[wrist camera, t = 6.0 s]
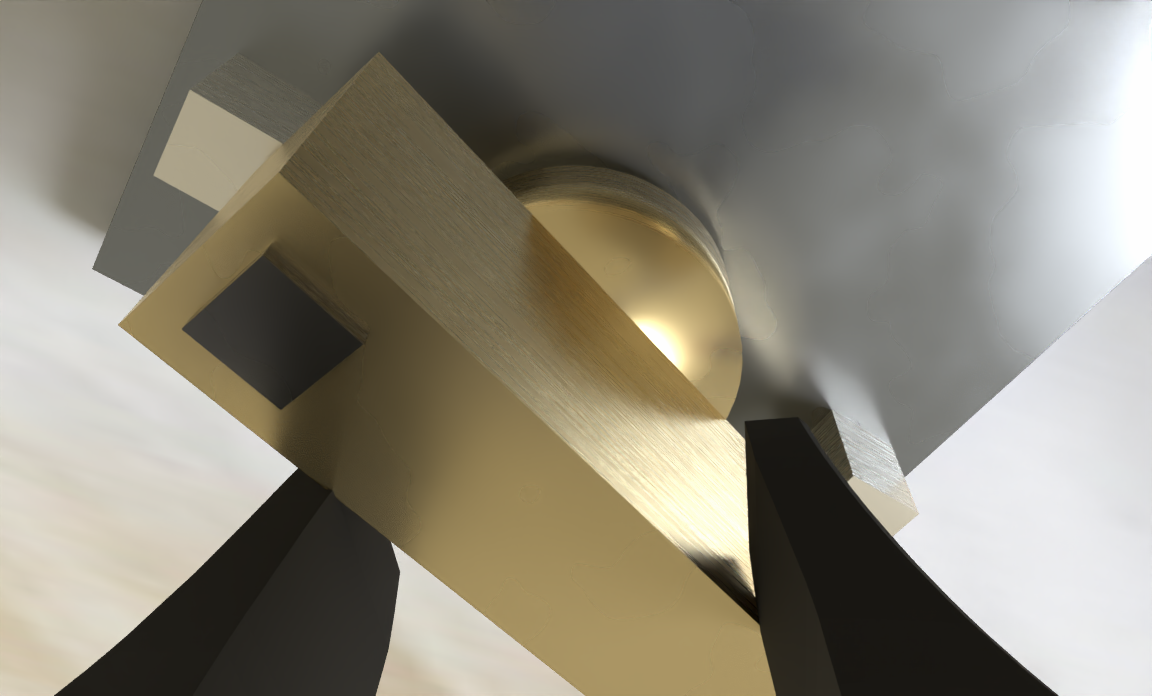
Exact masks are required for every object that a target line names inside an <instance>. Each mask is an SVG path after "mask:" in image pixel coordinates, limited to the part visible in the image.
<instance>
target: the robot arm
mask: <svg viewBox="0 0 1152 696" xmlns="http://www.w3.org/2000/svg"><path fill="white" fill-rule="evenodd" d="M744 423H745V451H746V479H747V508H748V536H749V554H750V562H751V569H752V577H753V584H754V592H755V599H756V605H757V611H758V617H759V623H760V632H761V636H762V641H763V645H764V649H765V653H766V657H767V661H768V665H769V669H770V673H771V677H772V681H773V685H774V689H775V693H776V696H1058V695H1057V694H1056V693H1055V692H1054V691H1052V690H1051V689H1050V688H1049V687H1048V686H1046V685H1045V684H1044V683H1043V682H1042V681H1040V680H1039V679H1038V678H1037V677H1036V676H1034V675H1033V674H1032V673H1031V672H1030V671H1028V670H1027V669H1026V668H1025V667H1024V666H1022V665H1021V664H1020V663H1019V662H1018V661H1017V660H1016V659H1015V658H1013V657H1012V656H1011V655H1010V654H1009V653H1008V652H1007V651H1006V650H1004V649H1003V648H1002V647H1001V646H1000V645H999V644H998V643H997V642H995V641H994V640H993V639H992V638H991V637H990V636H989V635H988V634H986V633H985V632H984V631H983V630H982V629H981V628H980V627H979V626H978V625H977V624H976V623H975V622H974V621H973V620H972V619H971V618H969V617H968V616H967V615H966V614H965V613H964V612H963V611H962V610H961V609H960V608H959V607H958V606H957V605H956V604H955V603H954V602H953V601H952V600H951V599H950V598H949V597H948V596H947V595H946V594H945V593H944V592H943V591H942V590H941V589H940V588H939V587H938V586H937V585H936V583H935V582H934V581H933V580H932V579H931V578H930V577H929V576H928V575H927V574H926V573H925V572H924V571H923V570H922V569H921V568H920V567H919V566H918V565H917V564H916V563H915V561H914V560H913V559H912V558H911V557H910V556H909V555H908V554H907V553H906V552H905V551H904V549H903V548H902V547H901V546H900V545H899V544H898V543H897V541H896V540H895V539H894V538H893V537H892V536H891V534H890V533H889V532H888V531H887V530H886V529H885V527H884V526H883V525H882V524H881V523H880V522H879V520H878V519H877V518H876V517H875V516H874V515H873V513H872V512H871V511H870V510H869V509H868V508H867V506H866V505H865V504H864V503H863V501H862V500H861V499H860V498H859V496H858V495H857V494H856V493H855V491H854V490H853V489H852V488H851V486H850V485H849V484H848V482H847V481H846V480H845V478H844V477H843V476H842V474H841V473H840V472H839V470H838V469H837V468H836V466H835V465H834V464H833V462H832V461H831V459H830V458H829V457H828V455H827V454H826V452H825V451H824V450H823V448H822V447H821V445H820V444H819V442H818V441H817V439H816V438H815V436H814V435H813V433H812V431H811V430H810V428H809V426H808V425H807V424H806V423H805V422H804V421H802V420H801V419H800V418H799V417H791V418H777V419H764V420H751V421H744ZM399 576H400V570H399V567H398V564H397V561H396V557H395V554H394V551H393V548H392V544H391V541H390V540H388V539H387V538H386V537H385V536H383V535H382V534H381V533H380V532H378V531H377V530H376V529H375V528H373V527H372V526H371V525H370V524H368V523H367V522H366V521H365V520H363V519H362V518H361V517H359V516H358V515H357V514H356V513H354V512H353V511H352V510H351V509H349V508H348V507H347V506H346V505H344V504H343V503H342V502H341V501H339V500H338V499H337V498H336V497H335V494H334V491H333V490H325V489H324V488H323V487H322V486H320V485H319V484H318V483H317V482H315V481H314V480H313V479H312V478H310V477H309V476H308V475H307V474H305V473H304V472H303V471H302V470H300V469H299V468H298V469H297V470H296V471H295V472H294V473H293V474H292V475H291V476H290V477H289V478H288V479H287V480H286V481H285V482H284V483H283V484H282V485H281V486H280V487H279V488H278V489H277V490H276V491H275V492H274V493H273V494H272V495H271V496H270V497H269V498H268V500H267V501H266V502H265V503H264V504H263V505H262V506H261V507H260V508H259V509H258V510H257V511H256V512H255V513H254V514H253V515H252V516H251V517H250V518H249V519H248V520H247V521H246V522H245V523H244V524H243V525H242V526H241V527H240V528H239V529H238V530H237V531H236V532H235V533H234V534H233V535H232V536H231V537H230V538H229V539H228V540H227V541H226V542H225V543H224V544H223V545H222V546H221V547H220V548H219V549H218V550H217V551H216V552H215V553H214V554H213V555H212V556H211V557H210V558H209V559H208V560H207V561H206V562H205V563H204V564H203V565H202V566H201V567H200V568H199V569H198V570H197V571H196V572H195V573H194V574H193V575H192V576H191V577H190V578H189V579H188V580H187V581H186V582H185V583H183V584H182V585H181V586H180V587H179V588H178V589H177V590H176V591H175V592H174V593H173V594H172V595H170V596H169V597H168V598H167V599H166V600H165V601H164V602H163V603H162V604H161V605H160V606H159V607H157V608H156V609H155V610H154V611H153V612H152V613H151V614H150V615H149V616H148V617H147V618H146V619H144V620H143V621H142V622H141V623H140V624H139V625H138V626H137V627H136V628H135V629H134V630H133V631H131V632H130V633H129V634H128V635H127V636H126V637H125V638H124V639H122V640H121V641H120V642H119V643H118V644H117V645H116V646H114V647H113V648H112V649H111V650H110V651H109V652H107V653H106V654H105V655H104V656H103V657H101V658H100V659H99V660H98V661H97V662H95V663H94V664H93V665H92V666H91V667H89V668H88V669H87V670H86V671H85V672H83V673H82V674H81V675H79V676H78V677H77V678H76V679H74V680H73V681H72V682H71V683H69V684H68V685H67V686H66V687H64V688H63V689H62V690H60V691H59V692H58V693H57V694H55V695H54V696H376V692H377V689H378V685H379V682H380V678H381V674H382V671H383V667H384V664H385V660H386V656H387V653H388V649H389V643H390V637H391V631H392V625H393V618H394V612H395V605H396V598H397V590H398V583H399Z"/></svg>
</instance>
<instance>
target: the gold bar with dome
mask: <svg viewBox="0 0 1152 696" xmlns="http://www.w3.org/2000/svg"><path fill="white" fill-rule="evenodd" d="M118 325H119V326H120V327H121V328H123V329H124V330H125V331H126V332H128V333H129V334H130V335H131V336H133V337H134V338H135V339H136V340H138V341H139V342H140V343H141V344H143V345H144V346H145V347H146V348H148V349H149V350H150V351H152V352H153V353H154V354H155V355H157V356H158V357H159V358H160V359H162V360H163V361H164V362H165V363H167V364H168V365H169V366H170V367H172V368H173V369H174V370H175V371H177V372H178V373H179V374H181V375H182V376H183V377H184V378H186V379H187V380H188V381H189V382H191V383H192V384H193V385H194V386H196V387H197V388H198V389H199V390H201V391H202V392H203V393H204V394H206V395H207V396H208V397H209V398H211V399H212V400H213V401H215V402H216V403H217V404H218V405H220V406H221V407H222V408H223V409H225V410H226V411H227V412H228V413H230V414H231V415H232V416H233V417H235V418H236V419H237V420H238V421H240V422H241V423H242V424H244V425H245V426H246V427H247V428H249V429H250V430H251V431H252V432H254V433H255V434H256V435H257V436H259V437H260V438H261V439H262V440H264V441H265V442H266V443H267V444H269V445H270V446H271V447H273V448H274V449H275V450H276V451H278V452H279V453H280V454H281V455H283V456H284V457H285V458H286V459H288V460H289V461H290V462H291V463H293V464H294V465H295V466H296V467H298V468H299V469H300V470H302V471H303V472H304V473H305V474H307V475H308V476H309V477H310V478H312V479H313V480H314V481H315V482H317V483H318V484H319V485H320V486H322V487H323V488H324V489H325V490H333V491H334V494H335V497H336V498H337V499H338V500H339V501H341V502H342V503H343V504H344V505H346V506H347V507H348V508H349V509H351V510H352V511H353V512H354V513H356V514H357V515H358V516H359V517H361V518H362V519H363V520H365V521H366V522H367V523H368V524H370V525H371V526H372V527H373V528H375V529H376V530H377V531H378V532H380V533H381V534H382V535H383V536H385V537H386V538H387V539H388V540H390V541H391V542H392V543H394V544H395V545H396V546H397V547H399V548H400V549H401V550H402V551H404V552H405V553H406V554H407V555H409V556H410V557H411V558H412V559H414V560H415V561H416V562H417V563H419V564H420V565H421V566H423V567H424V568H425V569H426V570H428V571H429V572H430V573H431V574H433V575H434V576H435V577H436V578H438V579H439V580H440V581H441V582H443V583H444V584H445V585H446V586H448V587H449V588H450V589H452V590H453V591H454V592H455V593H457V594H458V595H459V596H460V597H462V598H463V599H464V600H465V601H467V602H468V603H469V604H470V605H472V606H473V607H474V608H475V609H477V610H478V611H479V612H481V613H482V614H483V615H484V616H486V617H487V618H488V619H489V620H491V621H492V622H493V623H494V624H496V625H497V626H498V627H499V628H501V629H502V630H503V631H504V632H506V633H507V634H508V635H509V636H511V637H512V638H513V639H515V640H516V641H517V642H518V643H520V644H521V645H522V646H523V647H525V648H526V649H527V650H528V651H530V652H531V653H532V654H533V655H535V656H536V657H537V658H538V659H540V660H541V661H542V662H544V663H545V664H546V665H547V666H549V667H550V668H551V669H552V670H554V671H555V672H556V673H557V674H559V675H560V676H561V677H562V678H564V679H565V680H566V681H567V682H569V683H570V684H571V685H573V686H574V687H575V688H576V689H578V690H579V691H580V692H581V693H583V694H584V695H585V696H776V693H775V689H774V685H773V681H772V677H771V673H770V669H769V665H768V661H767V657H766V653H765V649H764V645H763V641H762V636H761V632H760V623H759V617H758V611H757V605H756V599H755V592H754V584H753V577H752V569H751V562H750V554H749V536H748V508H747V479H746V451H745V439H744V438H743V437H742V436H741V435H740V434H739V433H738V432H737V431H736V430H735V429H734V428H733V427H732V426H731V424H730V423H729V422H728V421H727V420H726V418H727V417H728V415H729V412H730V410H731V408H732V406H733V404H734V401H735V399H736V395H737V392H738V388H739V385H740V380H741V372H742V364H743V361H742V342H741V337H740V332H739V327H738V322H737V317H736V313H735V308H734V303H733V299H732V294H731V289H730V284H729V280H728V275H727V271H726V268H725V265H724V262H723V259H722V256H721V254H720V252H719V250H718V248H717V246H716V244H715V242H714V240H713V238H712V237H711V235H710V234H709V232H708V231H707V230H706V228H705V227H704V226H703V224H702V223H701V222H700V220H699V219H698V218H697V217H696V216H695V215H694V214H693V213H692V212H691V211H690V210H689V209H688V208H687V207H686V206H685V205H684V204H682V203H681V202H680V201H678V200H677V199H676V198H675V197H673V196H672V195H671V194H669V193H668V192H666V191H664V190H663V189H661V188H659V187H657V186H656V185H654V184H652V183H650V182H648V181H646V180H643V179H641V178H638V177H636V176H634V175H631V174H628V173H624V172H620V171H617V170H613V169H609V168H602V167H596V166H589V165H561V166H552V167H544V168H539V169H535V170H531V171H526V172H523V173H520V174H517V175H515V176H512V177H509V178H507V179H504V180H502V181H500V179H499V178H498V177H497V176H496V175H495V174H494V173H493V172H492V171H491V170H490V169H489V168H488V167H487V166H486V165H485V164H484V162H483V161H482V160H481V159H480V158H479V157H478V156H477V155H476V154H475V153H474V152H473V151H472V150H471V149H470V148H469V147H468V146H467V144H466V143H465V142H464V141H463V140H462V139H461V138H460V137H459V136H458V135H457V134H456V133H455V132H454V131H453V130H452V129H451V127H450V126H449V125H448V124H447V123H446V122H445V121H444V120H443V119H442V118H441V117H440V116H439V115H438V114H437V113H436V112H435V111H434V109H433V108H432V107H431V106H430V105H429V104H428V103H427V102H426V101H425V100H424V99H423V98H422V97H421V96H420V95H419V94H418V92H417V91H416V90H415V89H414V88H413V87H412V86H411V85H410V84H409V83H408V82H407V81H406V80H405V79H404V78H403V77H402V76H401V74H400V73H399V72H398V71H397V70H396V69H395V68H394V67H393V66H392V65H391V64H390V63H389V62H388V61H387V60H386V59H385V58H384V56H383V55H382V54H381V53H380V52H378V53H377V54H376V55H375V56H374V57H373V58H372V59H371V60H370V61H369V62H368V63H367V64H366V65H365V66H363V67H362V68H361V69H360V70H359V71H358V72H357V73H356V74H355V75H354V76H353V77H352V78H351V79H350V80H349V81H348V82H347V83H346V84H345V85H344V86H343V87H342V88H341V89H340V90H339V91H338V92H337V93H335V94H334V95H333V96H332V97H331V98H330V99H329V100H328V101H327V102H326V103H325V104H324V105H323V106H322V107H321V108H320V109H319V110H318V111H317V112H316V113H315V114H314V115H313V116H312V117H311V118H310V119H309V120H308V121H306V122H305V123H304V124H303V125H302V126H301V127H300V128H299V129H298V130H297V131H296V132H295V133H294V134H293V135H292V136H291V137H290V138H289V139H288V140H287V141H286V142H285V143H284V144H283V145H282V146H281V147H280V148H278V149H277V150H276V151H275V152H274V153H273V154H272V155H271V156H270V157H269V158H268V159H267V160H266V161H265V162H264V163H263V164H262V165H261V166H260V167H259V168H258V169H257V170H256V171H255V172H254V173H253V174H252V175H251V176H250V177H249V179H248V180H247V181H246V182H245V183H244V184H243V185H242V186H241V188H240V189H239V190H238V191H237V192H236V193H235V194H234V195H233V196H232V198H231V199H230V200H229V201H228V202H227V203H226V204H225V205H224V207H223V208H222V209H221V210H220V211H219V212H218V213H217V214H216V216H215V217H214V218H213V219H212V220H211V221H210V222H209V223H208V225H207V226H206V227H205V228H204V229H203V230H202V231H201V232H200V233H199V235H198V236H197V237H196V238H195V239H194V240H193V241H192V242H191V244H190V245H189V246H188V247H187V248H186V249H185V250H184V251H183V253H182V254H181V255H180V256H179V257H178V258H177V259H176V260H175V262H174V263H173V264H172V265H171V266H170V267H169V268H168V269H167V271H166V272H165V273H164V274H163V275H162V276H161V277H160V278H159V279H158V281H157V282H156V283H155V284H154V285H153V286H152V287H151V288H150V290H149V291H148V292H147V293H146V294H145V295H144V296H143V297H142V299H141V300H140V301H139V302H138V303H137V304H136V305H135V306H134V308H133V309H132V310H131V311H130V312H129V313H128V314H127V315H126V317H125V318H124V319H123V320H122V321H121V322H120V323H119V324H118Z"/></svg>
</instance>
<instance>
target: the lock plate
mask: <svg viewBox="0 0 1152 696" xmlns="http://www.w3.org/2000/svg"><path fill="white" fill-rule="evenodd" d="M378 52H380V53H381V54H382V55H383V56H384V58H385V59H386V60H387V61H388V62H389V63H390V64H391V65H392V66H393V67H394V68H395V69H396V70H397V71H398V72H399V73H400V74H401V76H402V77H403V78H404V79H405V80H406V81H407V82H408V83H409V84H410V85H411V86H412V87H413V88H414V89H415V90H416V91H417V92H418V94H419V95H420V96H421V97H422V98H423V99H424V100H425V101H426V102H427V103H428V104H429V105H430V106H431V107H432V108H433V109H434V111H435V112H436V113H437V114H438V115H439V116H440V117H441V118H442V119H443V120H444V121H445V122H446V123H447V124H448V125H449V126H450V127H451V129H452V130H453V131H454V132H455V133H456V134H457V135H458V136H459V137H460V138H461V139H462V140H463V141H464V142H465V143H466V144H467V146H468V147H469V148H470V149H471V150H472V151H473V152H474V153H475V154H476V155H477V156H478V157H479V158H480V159H481V160H482V161H483V162H484V164H485V165H486V166H487V167H488V168H489V169H490V170H491V171H492V172H493V173H494V174H495V175H496V176H497V177H498V178H499V179H500V181H502V180H504V179H507V178H509V177H512V176H515V175H517V174H520V173H523V172H526V171H531V170H535V169H539V168H544V167H552V166H561V165H589V166H596V167H602V168H609V169H613V170H617V171H620V172H624V173H628V174H631V175H634V176H636V177H638V178H641V179H643V180H646V181H648V182H650V183H652V184H654V185H656V186H657V187H659V188H661V189H663V190H664V191H666V192H668V193H669V194H671V195H672V196H673V197H675V198H676V199H677V200H678V201H680V202H681V203H682V204H684V205H685V206H686V207H687V208H688V209H689V210H690V211H691V212H692V213H693V214H694V215H695V216H696V217H697V218H698V219H699V220H700V222H701V223H702V224H703V226H704V227H705V228H706V230H707V231H708V232H709V234H710V235H711V237H712V238H713V240H714V242H715V244H716V246H717V248H718V250H719V252H720V254H721V256H722V259H723V262H724V265H725V268H726V271H727V275H728V280H729V284H730V289H731V294H732V299H733V303H734V308H735V313H736V317H737V322H738V327H739V332H740V337H741V342H742V361H743V364H742V372H741V380H740V385H739V388H738V392H737V395H736V399H735V401H734V404H733V406H732V408H731V410H730V412H729V415H728V417H727V418H726V420H727V421H728V422H729V423H730V424H731V426H732V427H733V428H734V429H735V430H736V431H737V432H738V433H739V434H740V435H741V436H742V437H743V438H744V439H745V423H744V421H751V420H764V419H777V418H791V417H799V418H800V419H801V420H802V421H804V422H805V423H806V424H807V425H808V426H809V428H810V430H811V431H812V433H813V435H814V436H815V438H816V439H817V441H818V442H819V444H820V445H821V447H822V448H823V450H824V451H825V452H826V454H827V455H828V457H829V458H830V459H831V461H832V462H833V464H834V465H835V466H836V468H837V469H838V470H839V472H840V473H841V474H842V476H843V477H844V478H845V480H846V481H847V482H848V484H849V485H850V486H851V488H852V489H853V490H854V491H855V493H856V494H857V495H858V496H859V498H860V499H861V500H862V501H863V503H864V504H865V505H866V506H867V508H868V509H869V510H870V511H871V512H872V513H873V515H874V516H875V517H876V518H877V519H878V520H879V522H880V523H881V524H882V525H883V526H884V527H885V529H886V530H887V531H888V532H889V533H890V534H891V536H892V537H893V536H894V535H895V534H896V533H897V532H898V531H899V530H901V529H902V528H903V527H904V526H905V525H906V524H908V523H909V522H910V521H911V520H912V519H913V518H914V517H916V516H917V515H918V514H919V513H918V510H917V508H916V506H915V503H914V501H913V498H912V496H911V493H910V491H909V488H908V486H907V483H906V481H905V478H904V477H905V476H907V475H908V474H909V473H910V472H911V471H912V470H913V469H914V468H915V467H917V466H918V465H919V464H920V463H921V462H922V461H923V460H924V459H925V458H927V457H928V456H929V455H930V454H931V453H932V452H933V451H934V450H935V449H937V448H938V447H939V446H940V445H941V444H942V443H943V442H944V441H945V440H947V439H948V438H949V437H950V436H951V435H952V434H953V433H954V432H955V431H957V430H958V429H959V428H960V427H961V426H962V425H963V424H964V423H965V422H967V421H968V420H969V419H970V418H971V417H972V416H973V415H974V414H975V413H976V412H978V411H979V410H980V409H981V408H982V407H983V406H984V405H985V404H986V403H988V402H989V401H990V400H991V399H992V398H993V397H994V396H995V395H996V394H998V393H999V392H1000V391H1001V390H1002V389H1003V388H1004V387H1005V386H1006V385H1008V384H1009V383H1010V382H1011V381H1012V380H1013V379H1014V378H1015V377H1016V376H1018V375H1019V374H1020V373H1021V372H1022V371H1023V370H1024V369H1025V368H1026V367H1028V366H1029V365H1030V364H1031V363H1032V362H1033V361H1034V360H1035V359H1036V358H1038V357H1039V356H1040V355H1041V354H1042V353H1043V352H1044V351H1045V350H1046V349H1048V348H1049V347H1050V346H1051V345H1052V344H1053V343H1054V342H1055V341H1056V340H1057V339H1059V338H1060V337H1061V336H1062V335H1063V334H1064V333H1065V332H1066V331H1067V330H1069V329H1070V328H1071V327H1072V326H1073V325H1074V324H1075V323H1076V322H1077V321H1079V320H1080V319H1081V318H1082V317H1083V316H1084V315H1085V314H1086V313H1087V312H1089V311H1090V310H1091V309H1092V308H1093V307H1094V306H1095V305H1096V304H1097V303H1099V302H1100V301H1101V300H1102V299H1103V298H1104V297H1105V296H1106V295H1107V294H1109V293H1110V292H1111V291H1112V290H1113V289H1114V288H1115V287H1116V286H1117V285H1119V284H1120V283H1121V282H1122V281H1123V280H1124V279H1125V278H1126V277H1127V276H1129V275H1130V274H1131V273H1132V272H1133V271H1134V270H1135V269H1136V268H1137V267H1138V266H1140V265H1141V264H1142V263H1143V262H1144V261H1145V260H1146V259H1147V258H1148V257H1150V256H1151V255H1152V0H203V1H202V3H201V6H200V8H199V10H198V13H197V15H196V18H195V20H194V23H193V25H192V28H191V30H190V32H189V35H188V37H187V40H186V42H185V45H184V47H183V49H182V52H181V54H180V57H179V59H178V62H177V64H176V66H175V69H174V71H173V74H172V76H171V79H170V81H169V83H168V86H167V88H166V91H165V93H164V96H163V98H162V100H161V103H160V105H159V108H158V110H157V113H156V115H155V117H154V120H153V122H152V125H151V127H150V130H149V132H148V134H147V137H146V139H145V142H144V144H143V147H142V149H141V151H140V154H139V156H138V159H137V161H136V164H135V166H134V169H133V171H132V173H131V176H130V178H129V181H128V183H127V186H126V188H125V190H124V193H123V195H122V198H121V200H120V203H119V205H118V207H117V210H116V212H115V215H114V217H113V220H112V222H111V224H110V227H109V229H108V232H107V234H106V237H105V239H104V241H103V244H102V246H101V249H100V251H99V254H98V256H97V258H96V261H95V263H94V266H93V268H92V269H93V270H95V271H97V272H99V273H101V274H103V275H105V276H107V277H109V278H111V279H113V280H115V281H117V282H119V283H120V284H122V285H124V286H126V287H128V288H130V289H132V290H134V291H136V292H138V293H140V294H142V295H145V294H146V293H147V292H148V291H149V290H150V288H151V287H152V286H153V285H154V284H155V283H156V282H157V281H158V279H159V278H160V277H161V276H162V275H163V274H164V273H165V272H166V271H167V269H168V268H169V267H170V266H171V265H172V264H173V263H174V262H175V260H176V259H177V258H178V257H179V256H180V255H181V254H182V253H183V251H184V250H185V249H186V248H187V247H188V246H189V245H190V244H191V242H192V241H193V240H194V239H195V238H196V237H197V236H198V235H199V233H200V232H201V231H202V230H203V229H204V228H205V227H206V226H207V225H208V223H209V222H210V221H211V220H212V219H213V218H214V217H215V216H216V214H217V213H218V212H219V211H220V210H221V209H222V208H223V207H224V205H225V204H226V203H227V202H228V201H229V200H230V199H231V198H232V196H233V195H234V194H235V193H236V192H237V191H238V190H239V189H240V188H241V186H242V185H243V184H244V183H245V182H246V181H247V180H248V179H249V177H250V176H251V175H252V174H253V173H254V172H255V171H256V170H257V169H258V168H259V167H260V166H261V165H262V164H263V163H264V162H265V161H266V160H267V159H268V158H269V157H270V156H271V155H272V154H273V153H274V152H275V151H276V150H277V149H278V148H280V147H281V146H282V145H283V144H284V143H285V142H286V141H287V140H288V139H289V138H290V137H291V136H292V135H293V134H294V133H295V132H296V131H297V130H298V129H299V128H300V127H301V126H302V125H303V124H304V123H305V122H306V121H308V120H309V119H310V118H311V117H312V116H313V115H314V114H315V113H316V112H317V111H318V110H319V109H320V108H321V107H322V106H323V105H324V104H325V103H326V102H327V101H328V100H329V99H330V98H331V97H332V96H333V95H334V94H335V93H337V92H338V91H339V90H340V89H341V88H342V87H343V86H344V85H345V84H346V83H347V82H348V81H349V80H350V79H351V78H352V77H353V76H354V75H355V74H356V73H357V72H358V71H359V70H360V69H361V68H362V67H363V66H365V65H366V64H367V63H368V62H369V61H370V60H371V59H372V58H373V57H374V56H375V55H376V54H377V53H378Z"/></svg>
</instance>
